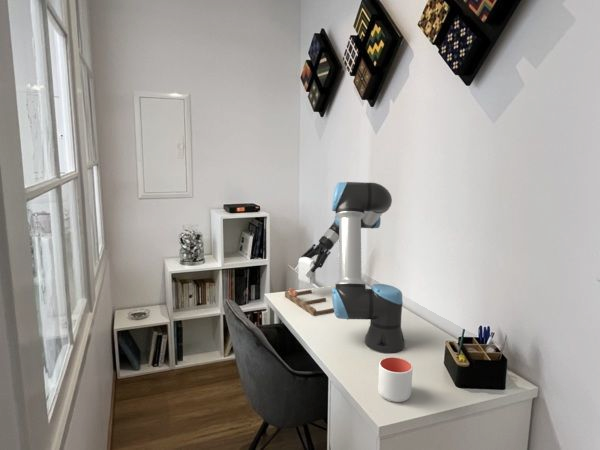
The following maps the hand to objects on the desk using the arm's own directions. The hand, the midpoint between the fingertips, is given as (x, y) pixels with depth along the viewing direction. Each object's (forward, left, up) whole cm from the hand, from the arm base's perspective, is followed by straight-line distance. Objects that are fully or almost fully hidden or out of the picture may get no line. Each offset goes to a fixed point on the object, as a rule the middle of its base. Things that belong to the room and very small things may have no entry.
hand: (301, 273), depth 214 cm
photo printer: (0, -3, -5) cm, 6 cm away
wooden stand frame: (-7, -3, -14) cm, 16 cm away
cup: (-88, +15, -14) cm, 91 cm away
